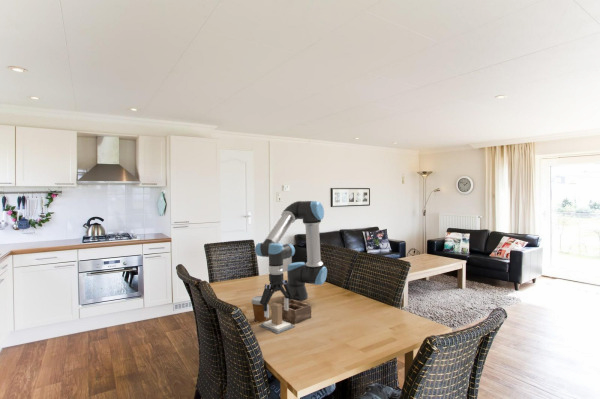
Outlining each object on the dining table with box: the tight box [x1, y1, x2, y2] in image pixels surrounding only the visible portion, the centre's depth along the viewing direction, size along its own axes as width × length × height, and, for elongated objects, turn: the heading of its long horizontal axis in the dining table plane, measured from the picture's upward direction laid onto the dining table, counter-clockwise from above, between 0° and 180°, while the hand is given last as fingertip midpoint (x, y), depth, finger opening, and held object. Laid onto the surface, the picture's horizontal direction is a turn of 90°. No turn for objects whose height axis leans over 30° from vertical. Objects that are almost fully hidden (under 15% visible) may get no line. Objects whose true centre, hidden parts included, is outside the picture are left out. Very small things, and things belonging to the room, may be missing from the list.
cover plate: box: [262, 302, 292, 331], centre depth 173 cm, size 12×9×11 cm
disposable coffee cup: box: [251, 295, 267, 323], centre depth 183 cm, size 10×10×12 cm
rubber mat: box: [258, 323, 296, 335], centre depth 173 cm, size 15×12×1 cm
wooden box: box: [277, 299, 312, 325], centre depth 186 cm, size 16×13×7 cm
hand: (276, 313), depth 173 cm, fingers open, 13 cm apart
